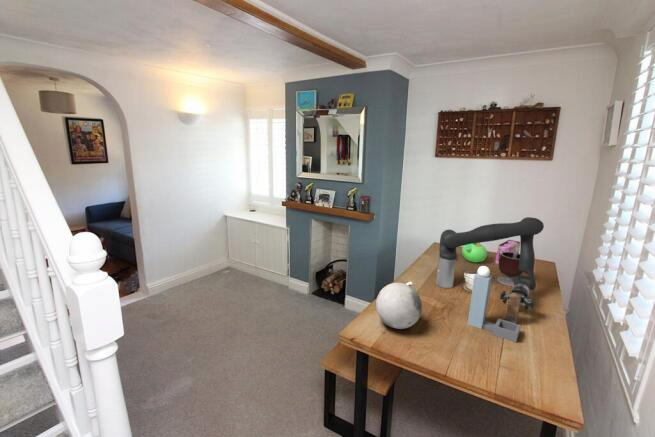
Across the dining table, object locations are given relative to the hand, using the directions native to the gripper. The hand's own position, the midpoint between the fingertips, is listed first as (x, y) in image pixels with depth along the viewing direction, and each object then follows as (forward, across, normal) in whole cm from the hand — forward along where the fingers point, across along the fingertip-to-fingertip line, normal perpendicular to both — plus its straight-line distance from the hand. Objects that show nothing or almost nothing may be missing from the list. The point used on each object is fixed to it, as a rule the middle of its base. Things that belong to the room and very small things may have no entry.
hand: (514, 304), depth 150 cm
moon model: (+40, -40, +8) cm, 58 cm away
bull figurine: (+13, -49, +8) cm, 52 cm away
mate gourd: (-50, -9, +8) cm, 52 cm away
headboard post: (+15, -6, +8) cm, 18 cm away
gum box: (-89, -17, +8) cm, 91 cm away
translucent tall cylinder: (+3, 0, +8) cm, 9 cm away
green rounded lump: (-72, -36, +8) cm, 81 cm away
